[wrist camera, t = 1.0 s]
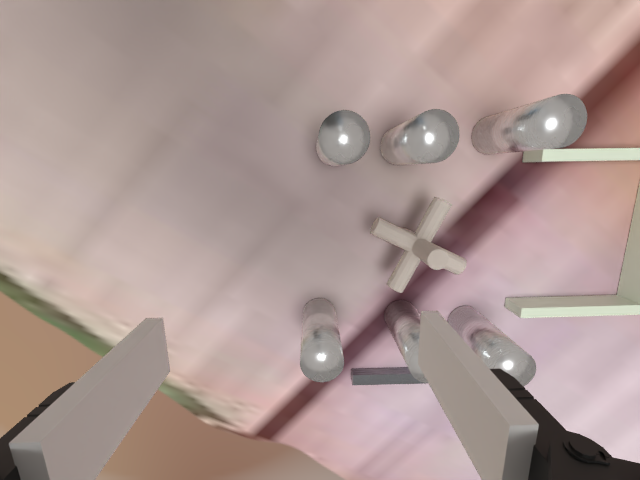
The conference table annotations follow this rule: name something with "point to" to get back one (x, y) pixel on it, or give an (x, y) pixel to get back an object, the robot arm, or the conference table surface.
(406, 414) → the conference table surface
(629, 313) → the corral
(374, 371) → the hook bar
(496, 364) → the set of silver pegs
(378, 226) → the beige rod cross
